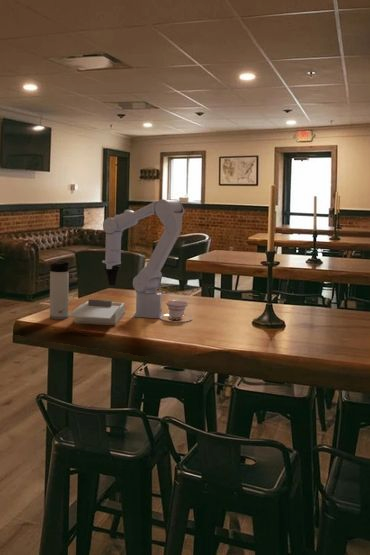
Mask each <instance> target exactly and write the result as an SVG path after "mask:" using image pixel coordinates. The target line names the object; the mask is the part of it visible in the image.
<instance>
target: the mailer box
mask: <svg viewBox="0 0 370 555" xmlns="http://www.w3.org/2000/svg"><path fill="white" fill-rule="evenodd" d="M84 304H88V300H87V301H86V302H84ZM125 305H126V303H125V302H113V301H112V306H120V308H119V309H118V311H117V312H116V313H115V314H114V315H113V316H112V318H111V319H110V320H108V319H91V318H74V324H84V325H99V326H116V325H117V324H118V323H119V321H120V320H122V318H123V317H124V315H125V314H126V312H125V308H126V306H125Z"/></svg>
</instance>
